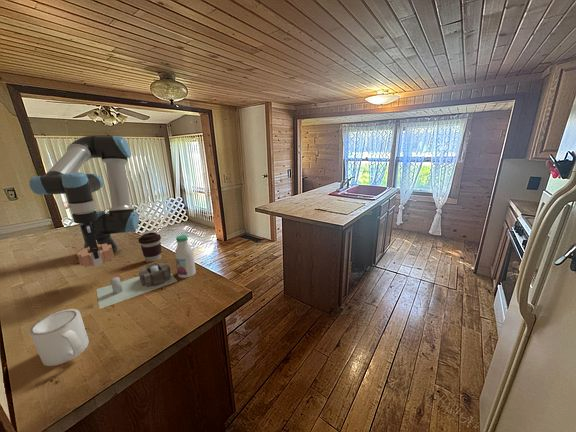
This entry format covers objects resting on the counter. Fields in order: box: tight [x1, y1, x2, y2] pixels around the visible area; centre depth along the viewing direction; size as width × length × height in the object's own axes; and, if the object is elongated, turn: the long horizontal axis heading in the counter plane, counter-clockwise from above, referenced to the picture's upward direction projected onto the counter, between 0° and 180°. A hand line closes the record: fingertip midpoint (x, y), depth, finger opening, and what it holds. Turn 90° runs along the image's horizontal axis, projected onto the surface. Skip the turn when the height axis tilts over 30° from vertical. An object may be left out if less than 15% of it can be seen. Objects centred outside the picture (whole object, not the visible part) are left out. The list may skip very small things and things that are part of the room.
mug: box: [29, 308, 90, 367], centre depth 66 cm, size 14×10×11 cm
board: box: [96, 266, 178, 310], centre depth 97 cm, size 16×27×8 cm, turn 132°
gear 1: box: [76, 243, 115, 268], centre depth 99 cm, size 11×11×5 cm
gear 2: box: [138, 261, 172, 287], centre depth 101 cm, size 11×11×5 cm
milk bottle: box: [174, 234, 197, 279], centre depth 104 cm, size 8×8×20 cm
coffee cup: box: [137, 231, 162, 263], centre depth 119 cm, size 10×10×15 cm
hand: (97, 259), depth 100 cm, fingers closed on gear 1, 11 cm apart
